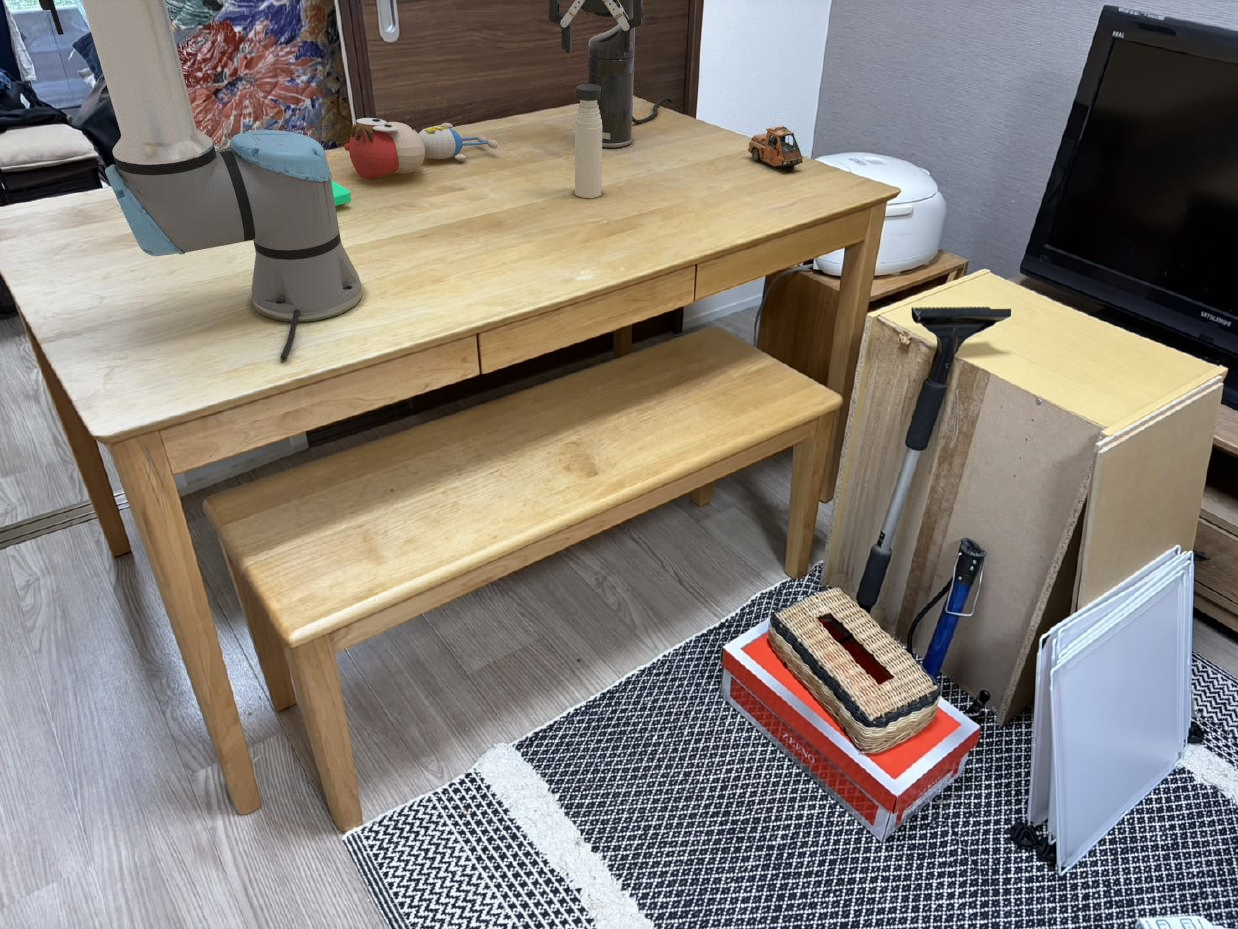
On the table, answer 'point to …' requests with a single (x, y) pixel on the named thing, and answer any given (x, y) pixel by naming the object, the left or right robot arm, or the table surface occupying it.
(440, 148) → the toy
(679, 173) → the table surface
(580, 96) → the cap
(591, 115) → the bottle
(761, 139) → the toy car
